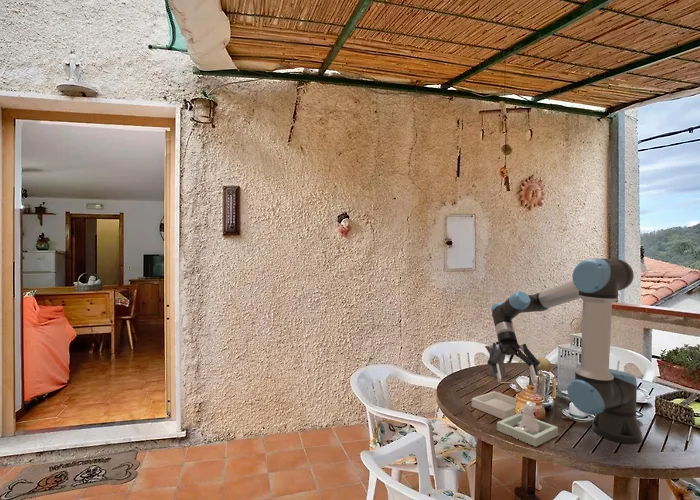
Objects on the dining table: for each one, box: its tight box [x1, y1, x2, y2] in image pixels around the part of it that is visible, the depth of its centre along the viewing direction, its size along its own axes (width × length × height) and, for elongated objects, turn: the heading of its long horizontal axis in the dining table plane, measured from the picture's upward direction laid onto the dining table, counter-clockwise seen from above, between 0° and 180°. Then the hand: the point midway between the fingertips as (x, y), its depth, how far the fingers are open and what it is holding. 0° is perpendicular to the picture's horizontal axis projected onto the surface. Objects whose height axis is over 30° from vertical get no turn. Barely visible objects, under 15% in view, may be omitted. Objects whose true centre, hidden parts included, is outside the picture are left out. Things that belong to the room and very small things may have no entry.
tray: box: [471, 390, 517, 420], centre depth 166 cm, size 16×16×4 cm
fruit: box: [536, 357, 552, 372], centre depth 218 cm, size 8×8×8 cm
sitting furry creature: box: [514, 400, 540, 435], centre depth 144 cm, size 10×9×12 cm
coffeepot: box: [484, 341, 515, 378], centre depth 211 cm, size 15×9×18 cm, turn 59°
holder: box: [496, 413, 559, 448], centre depth 144 cm, size 15×15×3 cm
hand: (517, 381), depth 155 cm, fingers open, 13 cm apart
